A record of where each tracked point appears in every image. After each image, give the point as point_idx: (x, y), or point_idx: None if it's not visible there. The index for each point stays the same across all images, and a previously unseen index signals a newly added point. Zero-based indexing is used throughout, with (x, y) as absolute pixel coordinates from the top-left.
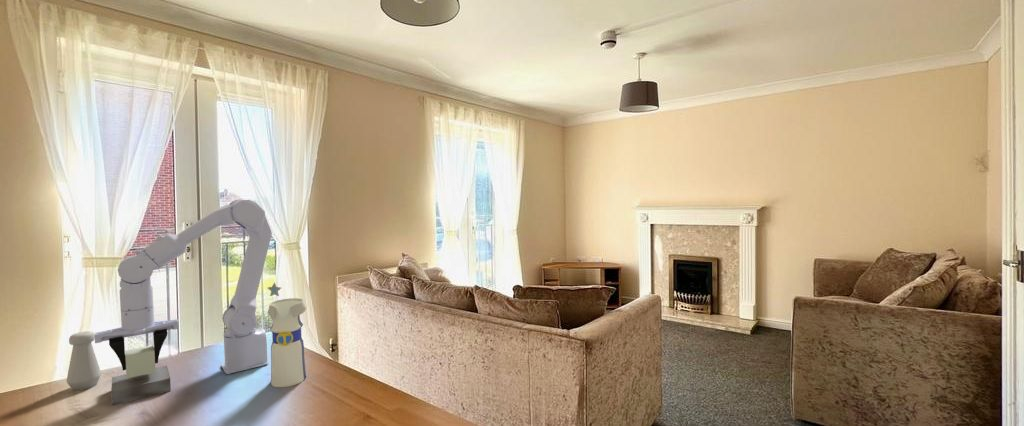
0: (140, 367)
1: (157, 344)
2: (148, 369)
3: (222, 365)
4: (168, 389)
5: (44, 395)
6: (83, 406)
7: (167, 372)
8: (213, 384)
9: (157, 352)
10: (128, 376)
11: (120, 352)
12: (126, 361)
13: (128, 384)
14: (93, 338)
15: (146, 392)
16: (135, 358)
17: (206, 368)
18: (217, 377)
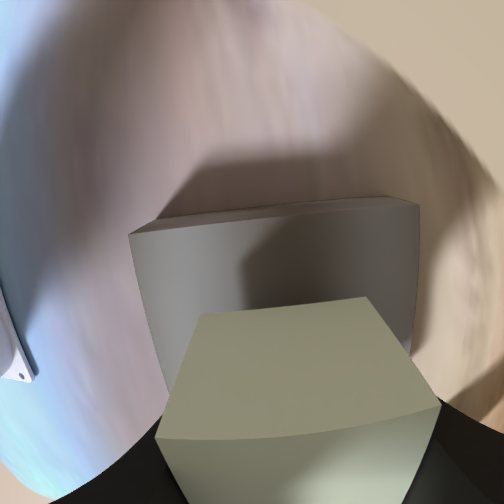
0: (292, 337)
1: (118, 501)
2: (239, 327)
3: (22, 361)
4: (160, 219)
5: (496, 415)
6: (465, 266)
7: (160, 347)
8: (16, 188)
9: (155, 441)
10: (358, 303)
11: (483, 451)
12: (413, 368)
13: (346, 277)
14: None
15: (254, 210)
16: (343, 394)
17: (76, 392)
18: (15, 264)
